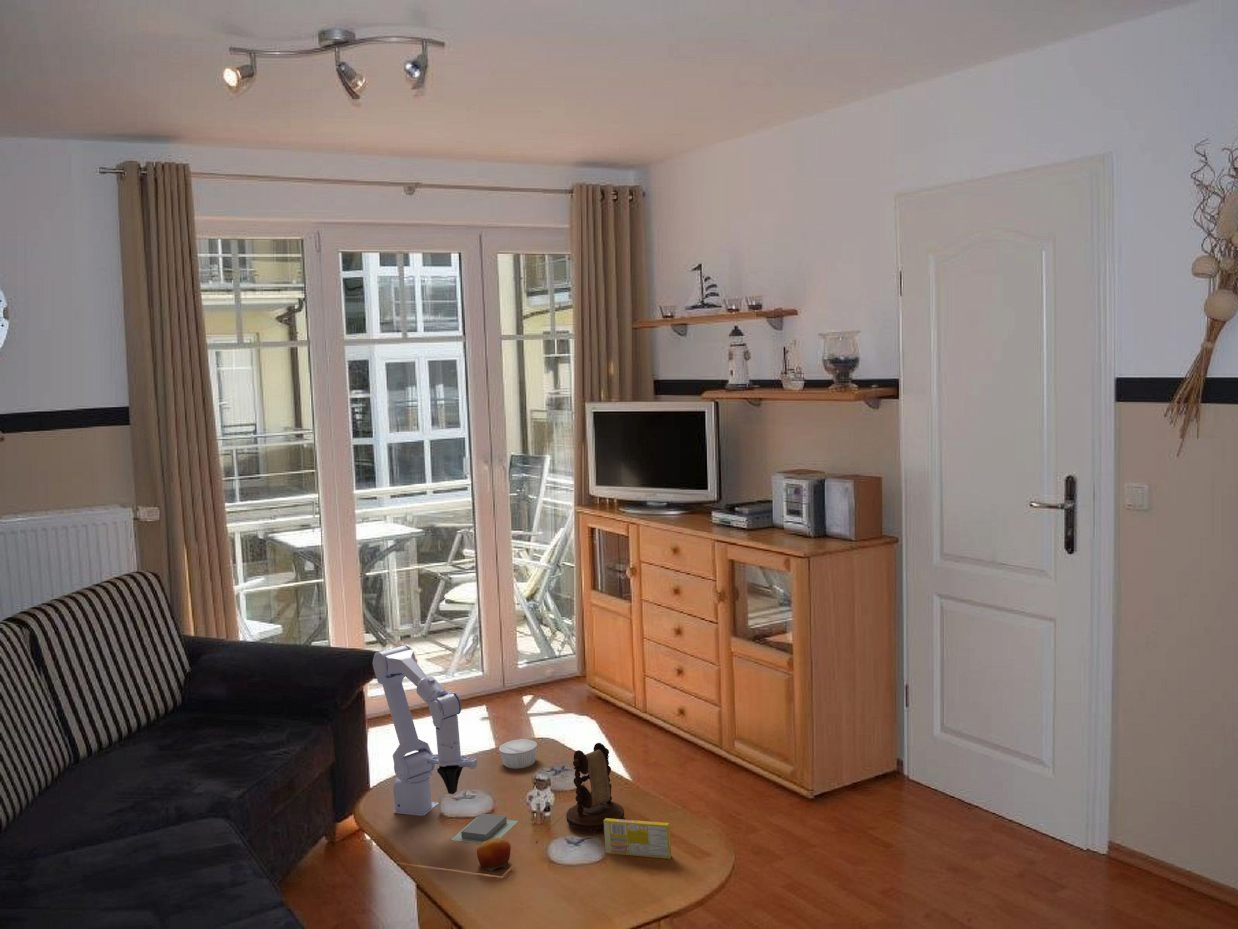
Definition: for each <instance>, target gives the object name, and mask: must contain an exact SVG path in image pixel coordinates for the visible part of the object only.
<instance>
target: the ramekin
mask: <svg viewBox="0 0 1238 929" xmlns="http://www.w3.org/2000/svg"><path fill="white" fill-rule="evenodd" d="M537 749H538V743H537V742H536V741H534V740H532V739H526V738H525V739H524V738H520V739H513V740H509V741H506V742H505V743H503V744H501V745H500V746H499V748H498V752H499V754H500V757H501V760H502V764H503V766H505V767H506V768H508V769H515V770H516V769H517V770H518V769H519V770H520V769H525V768H528V767H531V766H532V765H534V764H535V762H536V760H537V759H536V758H537Z"/></svg>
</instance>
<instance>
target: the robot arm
mask: <svg viewBox="0 0 1238 929" xmlns="http://www.w3.org/2000/svg"><path fill="white" fill-rule="evenodd" d="M372 667H373V672H374V675H375V677H376V678H375V679H376V681H377V683H378V684H380V685H382V688H383V691H384V695H385V698H386V703H387V705H388V709H389V712H390V715H391V719H392V723H393V726H394V730H395V733H396V737H397V740H398V743H399V744H398V745H397V748H396V749H395V751H394V752H393V754H392V760H393V772H394V774H395V776H396V777H397V778H396V779H395V781H394V783H393V799H394V800H393V801H394V811H393V813H394V814H400V815H407V816H408V815H409V816H411V815H412V816H421V817H424V816H426V814H428V813H429V812H431V811H432V810H434V808H436V807H437V806H438V805H439V802H435V801H433V799H432V789H431V778H430V777H431V776H433V773H432V772H434V770H435V768H436V765H438V766H439V767H438V768H437V769H436V770H437V771H436V772H437V773H438V774H439V776H440V777H441V779H442V781H443V783H444V785H445V787H446V788H445V789H446V790H447V793H448V794H449V795H454V794H455V793H457V791H458V784H459V779H460V776H461V773H462V771H463V769H464V768H469V769H470V770H475V768H477V767H478V762H477V760H478V759H477V758H472V757H468V756H465V755H462V754H461V743H460V731H459V728H460V727H459V717H458V715H460V714H461V711H462V701H461V699H460V697H459V696H458V694H457V693H456V692H454V691H450V690H448V691H447V690H446V689H445V688H444V687H443V686H442V685H441V684H440V683H439V682H438V681H437V679H435V678H434V677H433V676H427V675H426V673H425V672H424V670H423V669H422V668H421V667H420V665H419V664H418V663H417V662H416V655H415V651H414V650H413V648H412V647H411V646H410V645H409V644H403V645H401V646H397V647H393V648H388V649H385V650H381V651H380V650H379V651H376V652H375V653H374V655H373V659H372ZM404 678H406V679H408V680H409V681H410V682H411V683H412V684H414V686H415V687H416V693H417V695H418V696H419V697H420V698H421V699H422V700H423V701H424V702H425V703H426V705H427V706H428V709H429V714H430V716H431V717H432V724H433V726H434V727H435V735H436V736H435V738H436V745H437V746H436V747H437V754H435V753H433V752H432V750H431V748H430V744H429V743H428V742H426V741H424V740H422V739H420V738H419V737H418V734H417V730H416V727H415V724H414V719H413V717H412V712H411V710H410V706H409V702H408V699H407V695H406V692H405V689H404V686H403V681H404ZM415 751H416V752H415ZM412 752H413V753H412ZM408 753H410V754H408Z"/></svg>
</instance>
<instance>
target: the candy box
mask: <svg viewBox="0 0 1238 929" xmlns="http://www.w3.org/2000/svg"><path fill="white" fill-rule="evenodd" d="M603 833H604V834H603V835H604V848H605V849H604V850H605V851H604V852H605V854H609V855H611V854H612V855H619V856H620V855H622V856H635V857H642V858H643V857H644V858H653V859H655V858H656V859H665V860H671V857H672V856H673V855H672V843H671V825H670V822H662V821H661V822H660V821H647V820H645V821H644V820H633V819H623V820H622V819H610V818H606V819H605V820H604V828H603Z"/></svg>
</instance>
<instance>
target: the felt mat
mask: <svg viewBox="0 0 1238 929" xmlns="http://www.w3.org/2000/svg"><path fill="white" fill-rule="evenodd" d="M478 817H479V816H476V817H475V818H474V819H473V820H472V821H470V822H469V823H468V824H467V825H466V826H465V827H463V828H462V829H461V830H460V831H459V832H458V833H457V834H456V835H454V836H453V837H452V838H451V839H450V841H455V842H464V843H471V844H479V845H481V844H482V843H483V842H484V840H476V839H468V838H462V836H461V831H463V830H464V829H465V828H466V827H467V826H468V825H469V824H471V823H472V822H473V821H474V820H475V819H476V818H478ZM517 823H519V820H511V819H507V822H506V823H505V824H504V825H503V826H502V827H501V828H500V829H499V830H498V831H496V832H495V833H494V834H493V835H492V836H491V837H490V838H489V839H494V838H503V836H505V835H506V834H507V833H508V832H509V831H510V830H511V829H512V828H513V827H515V825H517ZM489 839H488V840H489Z"/></svg>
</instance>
